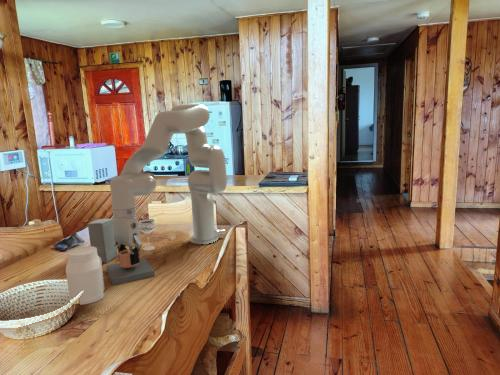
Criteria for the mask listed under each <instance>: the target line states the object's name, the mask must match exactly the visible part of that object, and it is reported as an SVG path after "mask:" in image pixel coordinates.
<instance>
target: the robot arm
mask: <svg viewBox="0 0 500 375" xmlns="http://www.w3.org/2000/svg"><path fill="white" fill-rule="evenodd" d="M210 115H211V114H210V110H209V108H208V107H207V106H205V105H204V104H202V103H201V104H200V103H197V104H196V103H195V104H194V103H193V104H179V105H176V106H173V107H172V108H171V109H170V110H166V111H165V110H164V111H163V110H162V111H160V112H158V113H157V114H156V115H155V117H154V119H153V121H152V124H151V126H150V128H149V131H148V133H147V135H146V136H145V137H146V138H145V140H144V143H143V144H142V145H141V146H140V147H139V148H137V150H136V151H134V152H133V153H132V155H131V156H130V157H129V158H128V159H127V160H126V162H125V164H124V166H123V168H122V170H121V172H120V175H119V176H117V177H114V178H111V180H110V182H109V187H110V197H111V205H112V217H113V218H112V219H113V221H114V237H113V238H114V240H115V242H116V246H117V254H118V255H119V252H120V251H122V250H126V249H130V252H131V254H130V262H131V265H134V264H137V263H139V259H140V251H141V248H142V246H143V244H142V235H141V231H140V227H139V219H138V216H137V210H136V200H135V197H139V196H141V197H142V196H148V195H151V194H152V193H153V192H154V191H156V188H157V180H156V179H155V178H154V177H153V176H152V175H150V174H147V173H141V171H143V169H144V168H145V166H147V165H148V164H149V163H152V162H154V161H156V160H158V159H160V158H162V157H163V156H165V154H166V152H167V150H168V148H169V145H170V143H171V140H172V138H173V135H175V134H179V135H181V134H184V135H185V139H186V146H187V153H188V161H189V163H190V165H191V167H195V168H203V169H196V170H193V171H192V172H190V173H189V175H188V177H187V186H188V189H189V193H190V199H191V213H192V231H193V235H192V236H191V237H190V239H189V241H190V243H191V244H194V245H201V244H203V245H210V244H209V243H211V244H213V242H214V243H216V242H218V241H219V240H218V239H219V238H220V236H219V235H223V234H224V235H225V234H226V229H220V228H219V229H216V228H215V227H216V226H215V225H216V224H215V209H214V206H215V204H214V199H213V195H212V194H216V195H217V194H222V193H223V192H224V191H225V190H226V188H227V185H228V183H227V181H228V177H227V167H226V157H225V153H224V151H223V149H222V148H221V147H220V146H218V145H214V144H209V143H208V137H207V132H206V129H205V128H204V126H206V124H207V123H208V122H209V120H210ZM204 168H205V169H204ZM217 240H218V241H217ZM215 241H216V242H215ZM126 246H127V247H126Z"/></svg>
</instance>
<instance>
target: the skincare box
mask: <svg viewBox="0 0 500 375" xmlns="http://www.w3.org/2000/svg"><path fill="white" fill-rule="evenodd" d="M87 228H88V235H89V242H90V244H89V245H90V246H93V247H96V248H97V254H98V256H99V257H100V258H101V261H102V264H108V263H109V262H111V261H113V260H114V259H115V258H116V257H119V254H118V249H117V245H116V242H115V240H114V238H113V237H114V218H98V219H95V220H93V221H91V222H89V223H87Z"/></svg>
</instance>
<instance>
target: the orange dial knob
mask: <svg viewBox="0 0 500 375" xmlns="http://www.w3.org/2000/svg"><path fill="white" fill-rule="evenodd" d="M130 254H131V252H130V249H129V248H127V249H126V250H122V251H120V252H119V254H118V261H119V263H120V267H123V268H127V267H133V266H136V265H138V264H139V263H137V264H134V265H131V262H130Z"/></svg>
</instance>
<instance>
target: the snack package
mask: <svg viewBox="0 0 500 375" xmlns="http://www.w3.org/2000/svg"><path fill="white" fill-rule="evenodd" d="M81 244H85V240H83V239H82V238H81V237H80V236H79V234H78V233H76V232H74V233H72V234H71V235H70V236H69V235H67V236H66V237H65V238H63V239H61V240H59V241H57V242H56V243H54V244H53V247H54V248H57V249H58V250H59V251H60V252H67V251H70V249H73V247H78V246H80V245H81Z"/></svg>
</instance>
